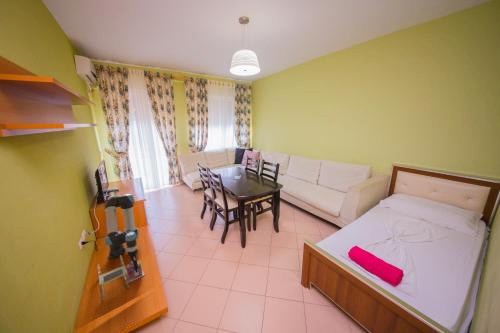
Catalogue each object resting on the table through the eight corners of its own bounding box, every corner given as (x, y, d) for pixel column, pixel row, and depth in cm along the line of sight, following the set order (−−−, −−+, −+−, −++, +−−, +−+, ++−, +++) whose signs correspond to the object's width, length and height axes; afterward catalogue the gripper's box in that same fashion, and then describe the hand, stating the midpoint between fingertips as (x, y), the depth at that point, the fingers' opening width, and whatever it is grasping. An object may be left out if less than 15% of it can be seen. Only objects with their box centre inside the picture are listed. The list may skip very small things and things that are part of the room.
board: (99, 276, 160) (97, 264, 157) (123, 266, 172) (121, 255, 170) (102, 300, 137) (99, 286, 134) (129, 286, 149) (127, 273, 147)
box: (128, 280, 155) (126, 268, 153) (129, 275, 160) (127, 264, 158) (142, 275, 160) (140, 263, 158) (142, 271, 165) (140, 260, 163)
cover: (98, 277, 143) (97, 272, 142) (125, 266, 154) (124, 261, 154) (99, 285, 135) (98, 280, 134) (127, 273, 147) (126, 268, 146)
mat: (127, 276, 160) (127, 276, 160) (142, 269, 168) (142, 269, 168) (129, 282, 153) (128, 282, 153) (144, 275, 161) (144, 274, 161)
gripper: (124, 245, 162) (127, 265, 166) (130, 258, 144) (133, 281, 148) (134, 241, 167) (136, 261, 171) (140, 254, 149) (143, 276, 153)
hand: (135, 270), depth 159 cm, fingers open, 13 cm apart
